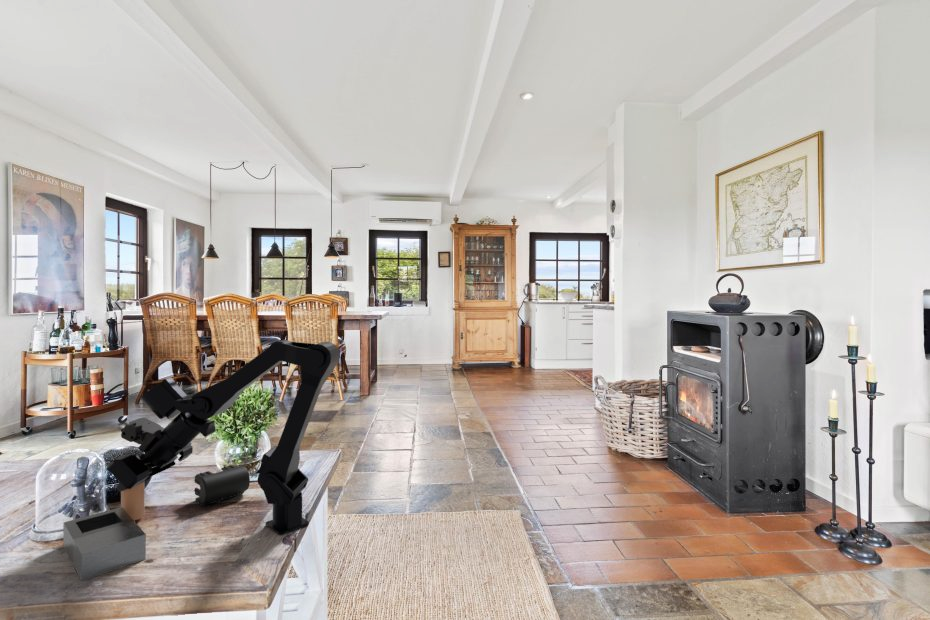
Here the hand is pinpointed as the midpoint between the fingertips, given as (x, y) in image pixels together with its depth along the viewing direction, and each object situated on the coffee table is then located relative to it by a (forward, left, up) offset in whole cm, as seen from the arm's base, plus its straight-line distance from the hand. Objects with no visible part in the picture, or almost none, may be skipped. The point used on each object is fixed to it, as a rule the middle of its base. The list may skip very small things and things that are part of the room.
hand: (126, 485), depth 98 cm
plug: (-1, -1, -7) cm, 7 cm away
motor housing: (-12, +6, -7) cm, 15 cm away
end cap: (-3, -18, -8) cm, 20 cm away
